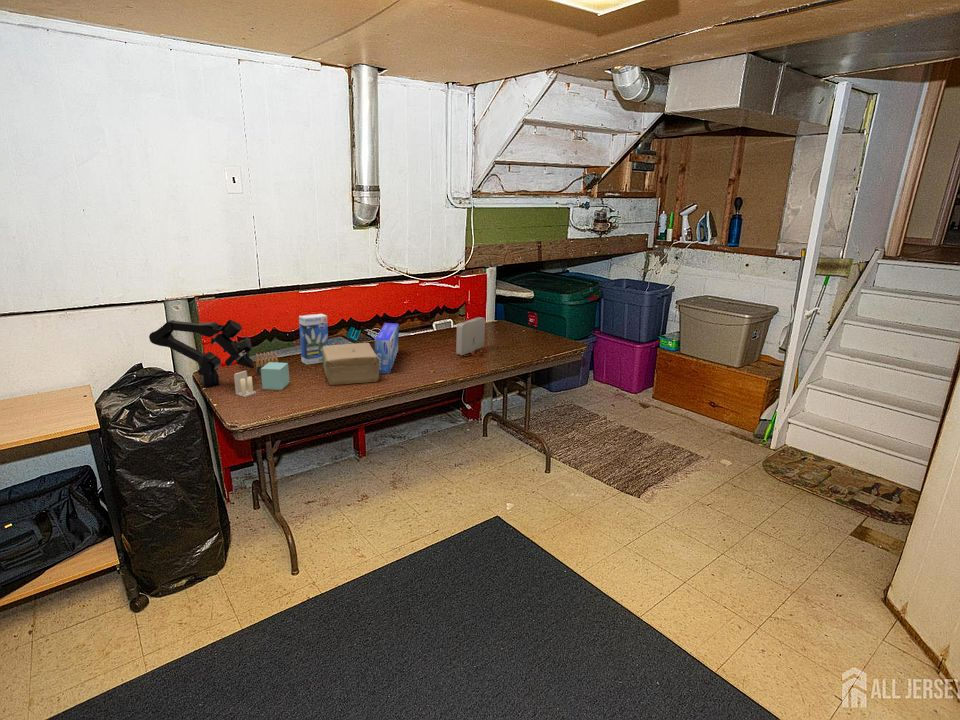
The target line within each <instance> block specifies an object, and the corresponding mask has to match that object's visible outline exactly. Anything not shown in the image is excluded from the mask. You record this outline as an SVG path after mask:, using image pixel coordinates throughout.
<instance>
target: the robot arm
mask: <svg viewBox="0 0 960 720" xmlns="http://www.w3.org/2000/svg"><path fill="white" fill-rule="evenodd" d="M242 329H243V327H242V325H241V324H240V323H239V322H237V321H235V320H232V319H228V320H227V321H226V323H225V324H218V322H215V321H210V322H209V321H208V322H207V321H206V322H201V323H199V322H190V321H189V322H187V321H179V320H173V319H172V320H169V321H166V322H165V323H164V324H162V326H161V327H159V328H158V329H157V330H155V331H152V332H150V333H149V336H148V338H149V341H150V343H152V344H153V345H155V346H159V347H165V348H166V347H167V348H170V349H171V350H174V351H175V352H177V353H179V354H181V355H182V356H185V357H187V358H188V359H190V360H193V361H195V362H196V363H197V364H198V365H199V367H200V368H199V369H198V370H197V374H198V375H200V377H201V383H200V385H202V386H203V387H204V388H211V387H214V386H215V387H216V386H220V377H219V376H220V375H219V374H218V372H217V370H219V368H220V367H221V365H222V360H221V358H220V357H219V356H218V355H217V354H214V353H213V352H212V351H208V352H206V353H205V352H202V351H200V350H197V349H196V348H194V347H192V346H190V345H188V344H186V343H185V342H182V341H180V340H178V339H177V338H175V337H174V336H173V334H172V333H173V332H174V331H175V332H176V331H177V332H178V331H179V332H185V333H186V332H187V333H196V334H199V335H200V336H202V337H206V338H210V344H211V345H214V344H217V345H218V346H220V348H221V349H223V350H222V352H223V353H224V354H225V353H227V354H228V355H229V356H228V358H227V359H226V360H225V361H224V364H225V365H226V366H227V367H231V366H232V364H233V363H234V362H235V361H236V362H235V365H240V366H243V367H247V368H249V369H254V368H255V365H254V363H253V362H252V360H251V358H250V352H251V351H252V350H253V349H254V346H253V345H252V343H251V342H252V341H251V340H252V339H251V338H249V337H248V336H244V337H242V340H240V341H238V340H236V339H235V340H234V338H235V337H236V336H237V335H238V334H239V333H240V332H241V331H242ZM213 336H214V337H213Z"/></svg>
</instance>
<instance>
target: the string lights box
mask: <svg viewBox="0 0 960 720" xmlns="http://www.w3.org/2000/svg"><path fill="white" fill-rule="evenodd" d="M298 325H299V341H300V357H301V358H300V361H301V362H302V363H303V364H304V365H306V366H307V365H313V364H314V365H315V364H321V363H323V357H322V349H323V346H329V332H328V331H329V329H328V328H329V327H328V315H326V314H324V313H317V314H316V313H314V314H305V315H298Z"/></svg>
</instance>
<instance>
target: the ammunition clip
mask: <svg viewBox="0 0 960 720" xmlns="http://www.w3.org/2000/svg"><path fill="white" fill-rule="evenodd" d="M269 362H276V363H279V359H278V354H277V351H276V350H275V351H274V353H273V351H270V352H269V351H267V353H265V352H263V354H262V352H260V353H259V354H258V352H256V353H255V367H256V368H255V369H256V371H255V372H256V376H259V375H260V376H261V368H262V367H264V366H265V365H266V364H268V363H269Z"/></svg>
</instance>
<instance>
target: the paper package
mask: <svg viewBox="0 0 960 720" xmlns="http://www.w3.org/2000/svg"><path fill="white" fill-rule="evenodd" d="M322 357H323V362H322V366H323V367H322V368H323V370H324V371H323V372H324V374H325V376H326V379H327V382H328V384H329V385H331V386H335V385H339V386H340V385H349V384H360V383H361V384H362V383H363V384H364V383H375V382H378V381H379V380H380V373H379V358H378V357H377V355H376V354H375V349H373V346H371V344H370V343H369V342H358V343H345V344H334V345H332V344H331V345H328V346H323V349H322Z"/></svg>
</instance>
